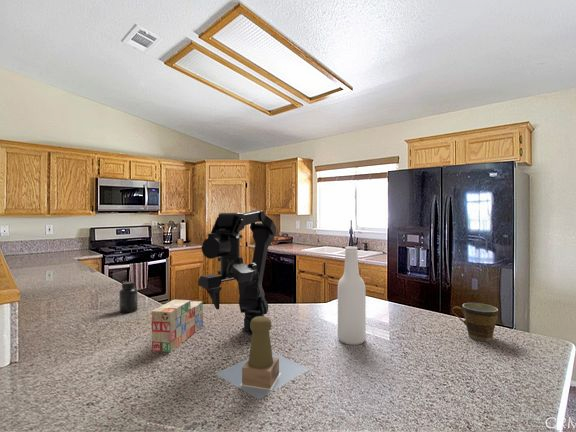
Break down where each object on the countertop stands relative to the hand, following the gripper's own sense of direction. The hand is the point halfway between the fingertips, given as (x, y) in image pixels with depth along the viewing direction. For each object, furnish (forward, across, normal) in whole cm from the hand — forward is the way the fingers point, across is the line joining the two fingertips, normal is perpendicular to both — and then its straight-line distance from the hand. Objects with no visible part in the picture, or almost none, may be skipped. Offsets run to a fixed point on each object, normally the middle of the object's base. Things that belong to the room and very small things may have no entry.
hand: (230, 305), depth 93 cm
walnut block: (+13, -6, -20) cm, 24 cm away
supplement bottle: (+13, -6, +62) cm, 64 cm away
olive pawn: (+9, -6, -20) cm, 23 cm away
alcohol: (+13, +30, -24) cm, 41 cm away
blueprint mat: (+13, -3, -18) cm, 22 cm away
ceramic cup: (+13, +59, -53) cm, 80 cm away
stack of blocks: (+13, -6, +19) cm, 24 cm away
